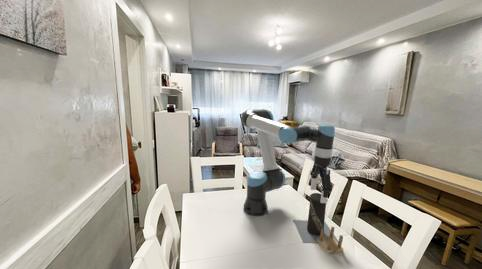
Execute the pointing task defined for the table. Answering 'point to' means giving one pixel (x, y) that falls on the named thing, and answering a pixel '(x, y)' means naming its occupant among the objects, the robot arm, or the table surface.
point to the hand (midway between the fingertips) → (317, 195)
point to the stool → (330, 242)
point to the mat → (306, 235)
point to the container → (316, 214)
